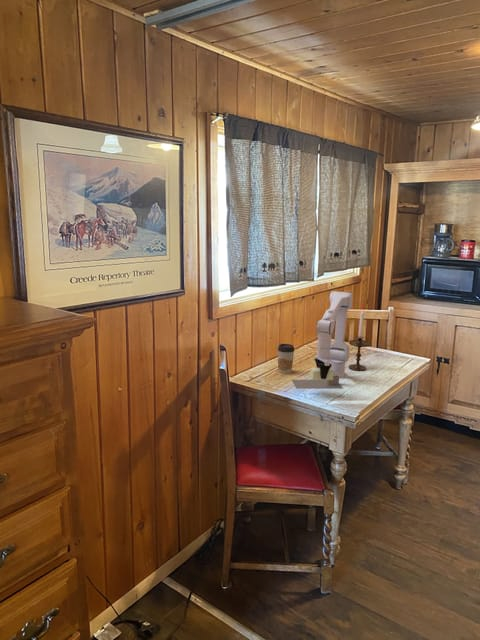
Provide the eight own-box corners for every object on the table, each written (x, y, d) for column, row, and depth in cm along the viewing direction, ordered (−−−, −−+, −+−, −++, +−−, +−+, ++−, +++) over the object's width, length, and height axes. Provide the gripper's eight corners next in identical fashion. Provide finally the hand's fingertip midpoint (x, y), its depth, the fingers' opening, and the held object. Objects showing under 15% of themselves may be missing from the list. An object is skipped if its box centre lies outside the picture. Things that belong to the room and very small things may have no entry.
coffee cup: (274, 375, 243) (275, 346, 240) (279, 370, 251) (280, 342, 247) (290, 378, 240) (292, 348, 237) (294, 373, 248) (296, 344, 244)
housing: (291, 382, 234) (291, 371, 233) (335, 382, 236) (336, 371, 235) (296, 391, 222) (296, 380, 221) (343, 391, 224) (344, 380, 223)
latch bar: (328, 374, 229) (328, 371, 229) (343, 374, 230) (343, 371, 229) (329, 375, 227) (329, 372, 227) (344, 376, 228) (344, 372, 228)
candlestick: (352, 372, 253) (358, 305, 245) (343, 365, 263) (348, 301, 255) (371, 371, 255) (377, 305, 247) (362, 365, 265) (368, 301, 258)
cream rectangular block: (310, 376, 218) (310, 367, 217) (329, 376, 219) (330, 367, 218) (312, 379, 213) (313, 371, 213) (332, 379, 214) (333, 371, 213)
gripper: (311, 342, 220) (309, 371, 223) (319, 351, 206) (316, 381, 209) (326, 342, 221) (324, 371, 224) (335, 351, 206) (333, 382, 209)
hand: (321, 376), depth 216 cm, fingers closed on cream rectangular block, 5 cm apart
